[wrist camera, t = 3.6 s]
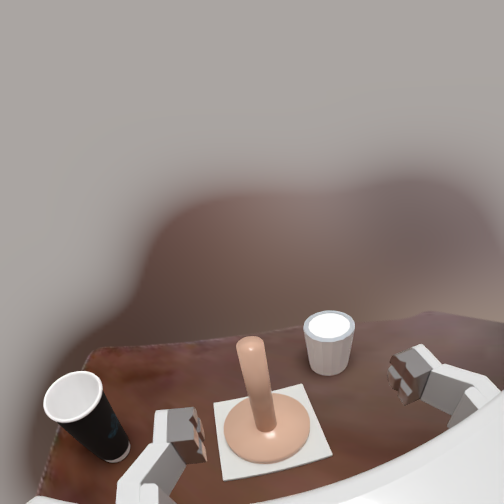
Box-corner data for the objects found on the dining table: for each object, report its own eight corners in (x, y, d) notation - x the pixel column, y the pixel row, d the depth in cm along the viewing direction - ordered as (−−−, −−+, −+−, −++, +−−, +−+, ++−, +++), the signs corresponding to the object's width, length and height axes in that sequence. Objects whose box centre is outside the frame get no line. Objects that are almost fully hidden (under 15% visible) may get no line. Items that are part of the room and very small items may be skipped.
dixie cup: (151, 454, 28) (111, 400, 24) (102, 481, 23) (49, 431, 19) (126, 417, 34) (90, 361, 29) (82, 440, 29) (38, 387, 25)
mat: (302, 385, 37) (302, 383, 37) (332, 456, 26) (332, 454, 25) (214, 404, 35) (213, 403, 35) (224, 481, 24) (223, 480, 24)
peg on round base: (296, 390, 35) (289, 303, 30) (321, 450, 26) (324, 368, 21) (221, 407, 34) (193, 323, 29) (231, 471, 25) (195, 397, 20)
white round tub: (295, 365, 41) (292, 328, 38) (325, 340, 44) (324, 304, 42) (332, 386, 36) (334, 348, 33) (361, 357, 39) (364, 320, 37)
